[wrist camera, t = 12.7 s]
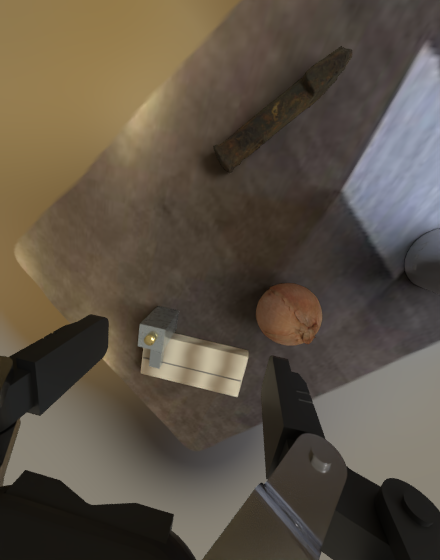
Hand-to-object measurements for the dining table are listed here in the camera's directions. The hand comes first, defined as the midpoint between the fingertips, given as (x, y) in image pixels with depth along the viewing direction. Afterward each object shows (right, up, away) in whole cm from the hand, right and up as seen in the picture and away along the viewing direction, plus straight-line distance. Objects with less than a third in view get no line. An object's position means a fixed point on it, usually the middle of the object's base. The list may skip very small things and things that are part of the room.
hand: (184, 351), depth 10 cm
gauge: (-9, -6, +30) cm, 32 cm away
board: (-3, -12, +31) cm, 33 cm away
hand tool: (+9, +26, +19) cm, 34 cm away
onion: (+12, 0, +26) cm, 29 cm away
